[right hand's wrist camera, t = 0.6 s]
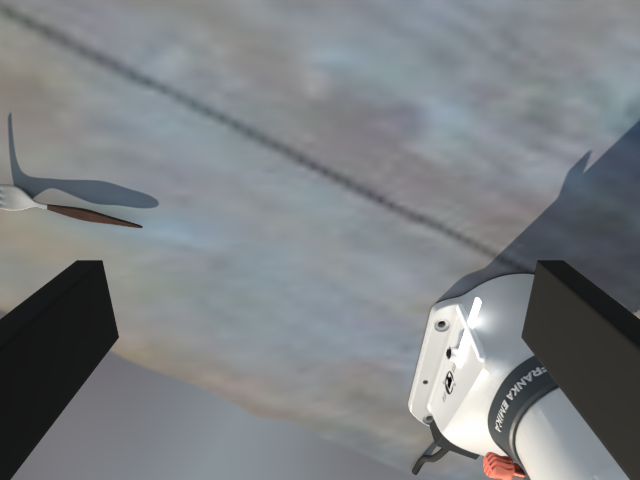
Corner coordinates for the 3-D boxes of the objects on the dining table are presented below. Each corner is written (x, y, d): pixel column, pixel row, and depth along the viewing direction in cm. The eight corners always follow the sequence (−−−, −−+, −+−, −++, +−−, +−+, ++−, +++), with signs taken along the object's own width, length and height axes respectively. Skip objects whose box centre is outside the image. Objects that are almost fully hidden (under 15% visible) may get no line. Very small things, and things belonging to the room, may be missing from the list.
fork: (143, 237, 42) (135, 244, 40) (-21, 202, 41) (-38, 208, 39) (145, 213, 41) (137, 220, 39) (-23, 177, 40) (-40, 182, 38)
